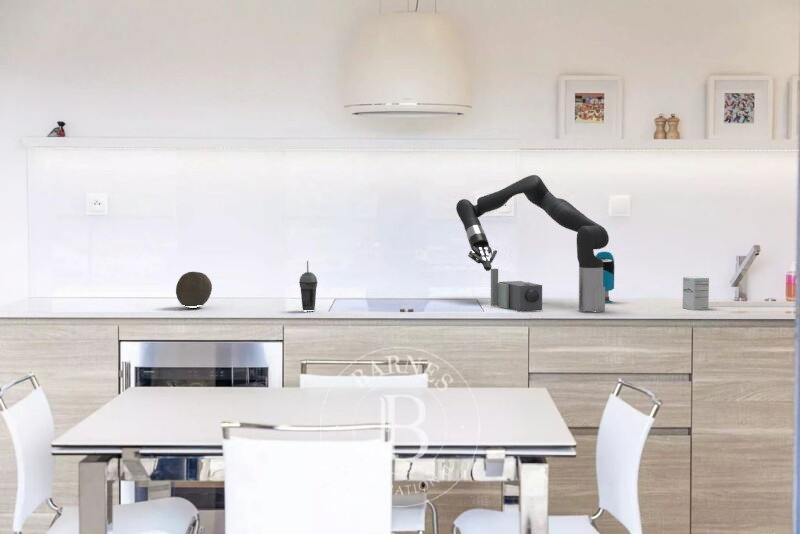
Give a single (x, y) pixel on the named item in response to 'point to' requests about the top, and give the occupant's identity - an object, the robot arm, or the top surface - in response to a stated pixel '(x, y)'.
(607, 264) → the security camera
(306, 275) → the beverage cup
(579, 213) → the robot arm
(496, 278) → the side door
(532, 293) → the block
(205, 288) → the dark brown ball
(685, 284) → the supplement box
